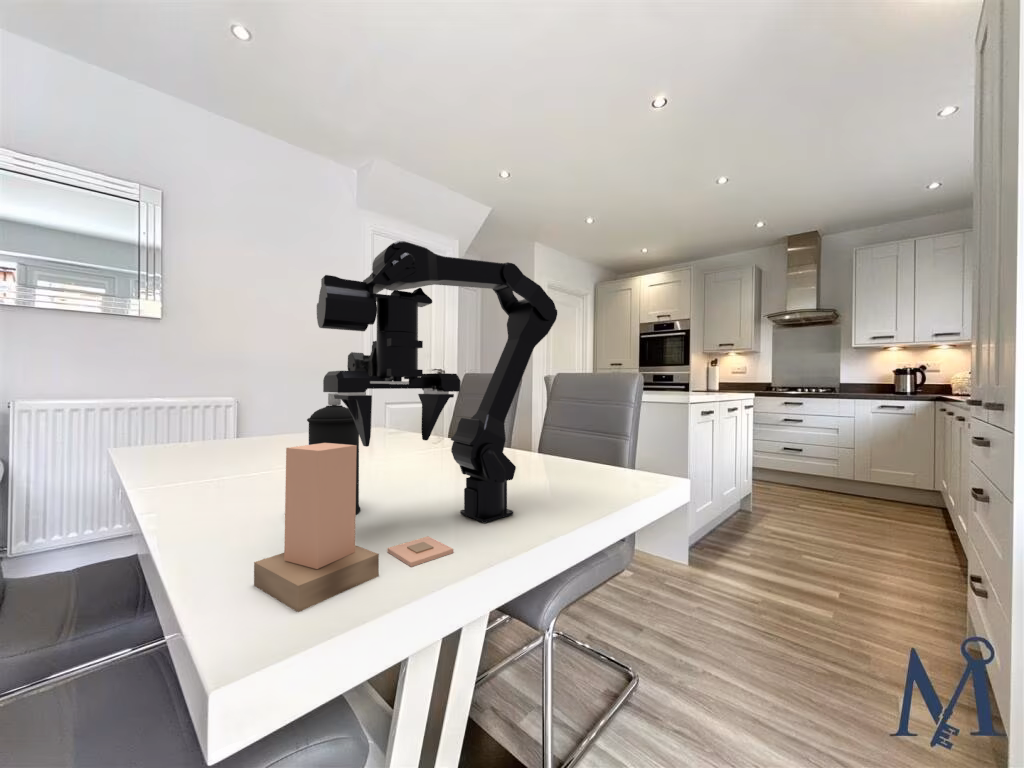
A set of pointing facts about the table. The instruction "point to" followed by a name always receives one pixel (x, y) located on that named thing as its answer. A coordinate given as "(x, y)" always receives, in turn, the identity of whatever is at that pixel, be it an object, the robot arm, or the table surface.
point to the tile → (419, 551)
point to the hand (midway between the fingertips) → (397, 443)
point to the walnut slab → (313, 578)
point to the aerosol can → (335, 430)
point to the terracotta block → (320, 503)
